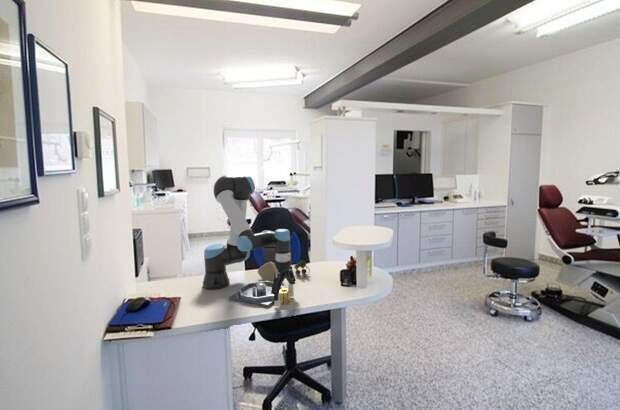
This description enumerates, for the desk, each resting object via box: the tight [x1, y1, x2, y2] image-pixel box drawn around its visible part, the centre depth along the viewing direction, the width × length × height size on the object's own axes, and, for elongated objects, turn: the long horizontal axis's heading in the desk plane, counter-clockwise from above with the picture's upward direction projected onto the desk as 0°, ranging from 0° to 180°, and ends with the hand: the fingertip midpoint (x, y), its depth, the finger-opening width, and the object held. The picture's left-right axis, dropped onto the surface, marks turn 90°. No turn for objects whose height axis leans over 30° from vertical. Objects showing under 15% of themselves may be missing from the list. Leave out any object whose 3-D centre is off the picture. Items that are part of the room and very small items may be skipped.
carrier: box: [228, 280, 288, 308], centre depth 179 cm, size 24×24×6 cm
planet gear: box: [279, 289, 292, 305], centre depth 170 cm, size 6×6×6 cm
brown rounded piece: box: [257, 261, 278, 282], centre depth 202 cm, size 13×8×15 cm
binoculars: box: [293, 260, 311, 278], centre depth 209 cm, size 9×9×10 cm
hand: (284, 301), depth 170 cm, fingers open, 13 cm apart
